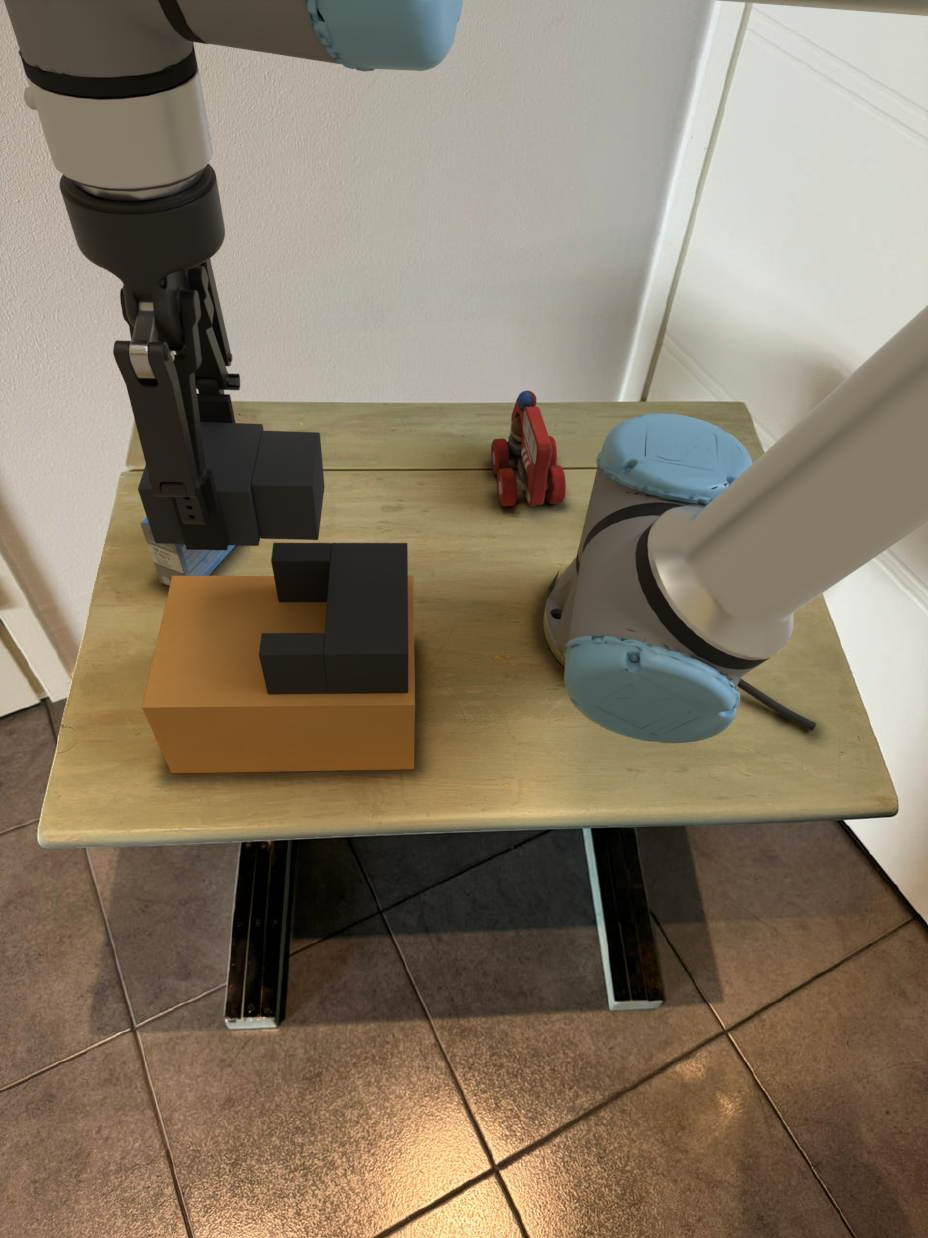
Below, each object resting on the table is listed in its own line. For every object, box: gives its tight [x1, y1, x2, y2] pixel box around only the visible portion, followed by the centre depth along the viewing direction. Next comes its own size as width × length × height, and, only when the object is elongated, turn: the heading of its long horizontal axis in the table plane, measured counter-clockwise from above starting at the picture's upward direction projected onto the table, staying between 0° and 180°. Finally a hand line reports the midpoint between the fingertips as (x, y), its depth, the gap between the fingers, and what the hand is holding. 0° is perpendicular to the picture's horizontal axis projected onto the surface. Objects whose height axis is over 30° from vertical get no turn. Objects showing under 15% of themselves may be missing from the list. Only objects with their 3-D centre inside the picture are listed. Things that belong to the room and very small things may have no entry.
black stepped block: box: [137, 422, 326, 547], centre depth 57 cm, size 11×7×5 cm, turn 92°
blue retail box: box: [140, 516, 237, 587], centre depth 79 cm, size 9×4×12 cm, turn 156°
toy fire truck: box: [490, 390, 567, 507], centre depth 90 cm, size 7×12×10 cm, turn 7°
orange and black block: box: [141, 542, 416, 774], centre depth 68 cm, size 20×13×15 cm, turn 93°
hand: (216, 506), depth 59 cm, fingers closed on black stepped block, 7 cm apart
